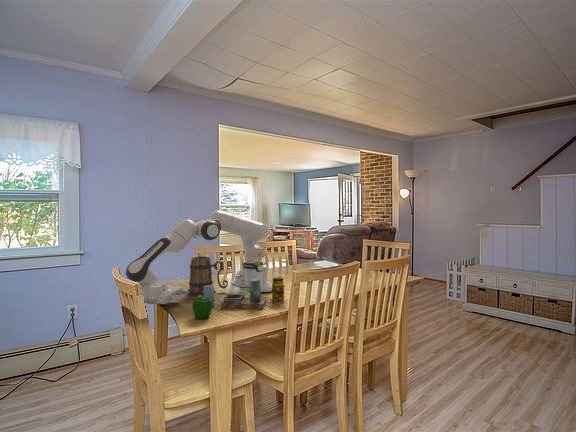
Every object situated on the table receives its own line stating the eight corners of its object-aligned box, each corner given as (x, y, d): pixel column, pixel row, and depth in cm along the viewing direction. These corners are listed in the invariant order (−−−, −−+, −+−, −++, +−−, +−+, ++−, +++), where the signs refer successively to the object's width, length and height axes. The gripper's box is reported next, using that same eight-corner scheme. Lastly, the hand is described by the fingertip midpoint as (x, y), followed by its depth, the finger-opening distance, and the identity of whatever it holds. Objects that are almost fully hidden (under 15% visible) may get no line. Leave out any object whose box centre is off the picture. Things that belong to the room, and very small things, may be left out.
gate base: (221, 308, 158) (221, 282, 158) (226, 302, 168) (226, 277, 168) (263, 309, 156) (263, 282, 156) (266, 303, 166) (266, 278, 166)
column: (201, 307, 160) (201, 286, 160) (209, 304, 164) (209, 284, 164) (207, 308, 157) (207, 287, 157) (216, 306, 161) (216, 285, 161)
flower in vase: (275, 289, 196) (275, 246, 196) (273, 294, 185) (272, 249, 185) (254, 288, 198) (253, 246, 197) (249, 293, 186) (249, 248, 186)
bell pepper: (204, 313, 150) (204, 291, 150) (215, 317, 145) (215, 294, 145) (188, 318, 144) (187, 295, 143) (199, 322, 138) (199, 298, 138)
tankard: (182, 297, 179) (182, 260, 179) (187, 289, 196) (187, 255, 195) (227, 295, 182) (227, 259, 182) (228, 288, 199) (228, 255, 199)
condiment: (280, 304, 165) (280, 280, 165) (265, 301, 169) (265, 278, 169) (287, 300, 171) (287, 277, 171) (273, 298, 175) (273, 275, 175)
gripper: (146, 293, 152) (175, 293, 151) (166, 283, 172) (192, 284, 171) (146, 307, 152) (175, 307, 151) (166, 295, 172) (192, 296, 171)
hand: (184, 295), depth 161 cm, fingers open, 8 cm apart
